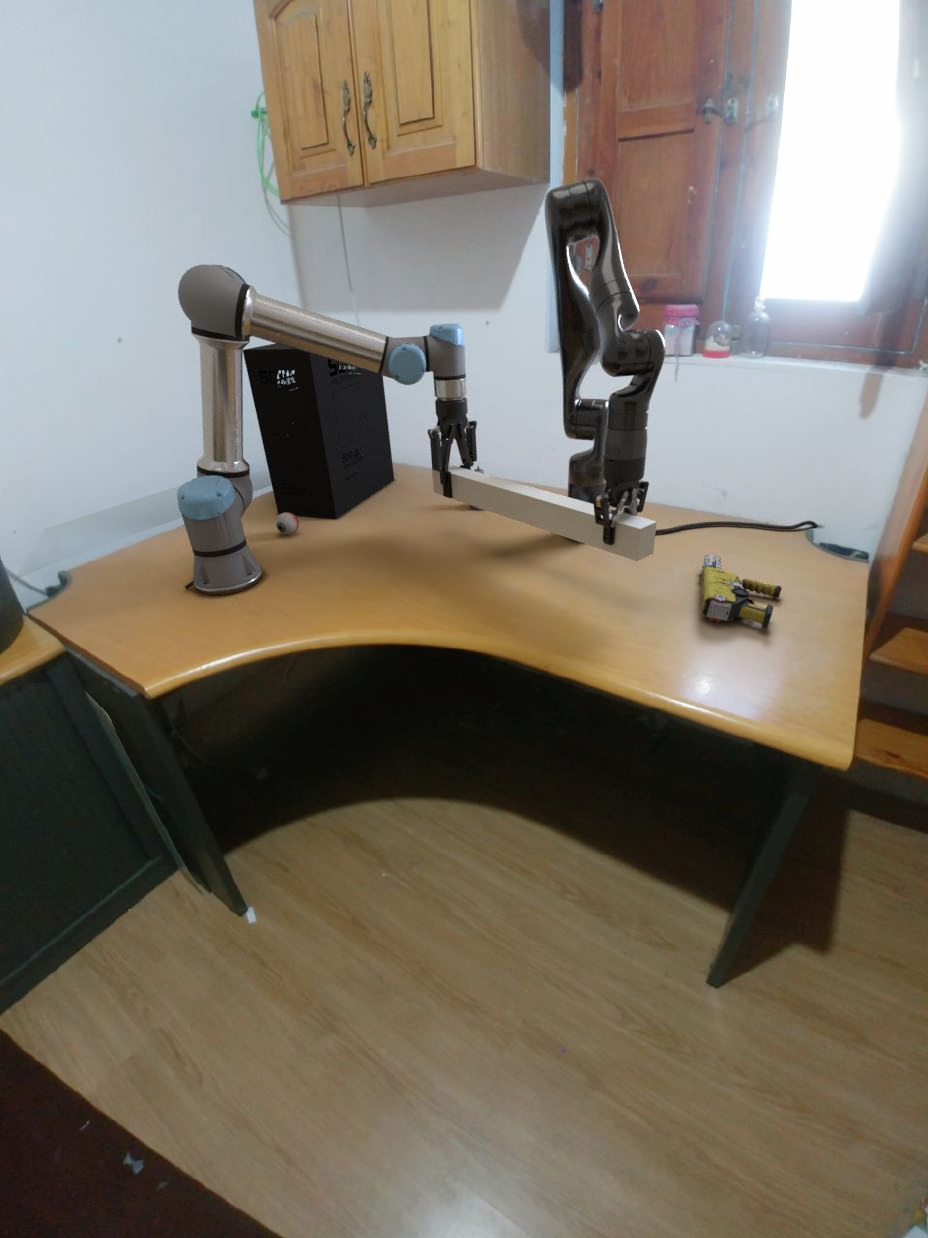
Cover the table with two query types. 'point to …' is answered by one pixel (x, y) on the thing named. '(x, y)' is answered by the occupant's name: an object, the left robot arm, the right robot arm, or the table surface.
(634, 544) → the bar
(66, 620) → the table surface
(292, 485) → the cardboard box
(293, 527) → the eyeball
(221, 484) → the left robot arm
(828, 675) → the table surface
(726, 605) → the toy gun
